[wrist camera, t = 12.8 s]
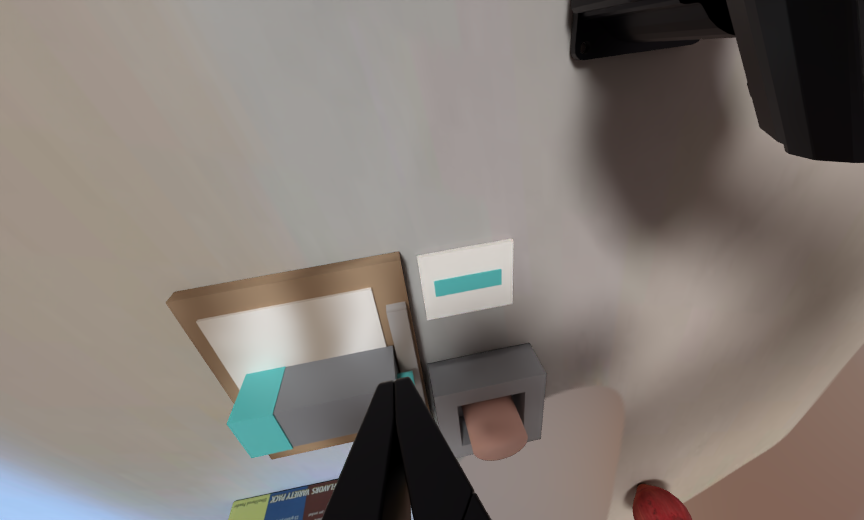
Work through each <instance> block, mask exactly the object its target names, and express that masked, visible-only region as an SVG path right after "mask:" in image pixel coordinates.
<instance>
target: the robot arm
mask: <svg viewBox="0 0 864 520" xmlns="http://www.w3.org/2000/svg"><path fill="white" fill-rule="evenodd" d="M571 9H572V10H573V12H574V14H573V26H572V38H571V55H572V57H573V58H574V59H576V60H588V59H595V58H602V57H609V56H616V55H623V54H629V53H636V52H643V51H650V50H657V49H664V48H671V47H678V46H685V45H692V44H694V43H696V42H698V41H699V40H700V39H715V38H735V37H736V40H737V44H738V48H739V51H740V55H741V59H742V63H743V66H744V70H745V74H746V78H747V82H748V83H747V86H748V90H749V93H750V96H751V97H752V100H753V104H754V108H755V112H756V116H757V119H758V123H759V127H760V128H761V129H762V130H764V131H765V132H766V133H767V134H769V135H770V136H771V137H772V138H774V139H775V140H776V141H777V142H780V143H782V144H784V148H785V151H786V152H787V153H788V154H792V155H796V156H800V157H804V158H808V159H812V160H820V161H835V162H849V163H864V0H571ZM583 42H584V43H585V44H586V48H585V51H584V52H583V53H581V52H580V46H581V44H582V43H583ZM411 508H412V514H413V519H414V520H491V518H490V516H489V515H488V513H487V512H486V510H485V508H484V506H483V505H482V503H481V501H480V500H479V497H478V496H477V494H476V493H474V489H473V487H472V486H471V484H470V482H469V480H468V479H467V477H466V475H465V473H464V472H463V470H462V468H461V466H460V464H459V463H458V461H457V459H456V457H455V456H454V454H453V452H452V450H451V448H450V447H449V445H448V443H447V441H446V440H445V438H444V436H443V434H442V433H441V431H440V429H439V427H438V426H437V424H436V422H435V420H434V418H433V417H432V415H431V413H430V411H429V410H428V408H427V406H426V404H425V403H424V401H423V399H422V397H421V396H420V394H419V392H418V390H417V389H416V387H415V385H414V383H413V381H412V380H411V378H410V377H403V378H399V379H396V380H395V382H394V381H393V380H390V381H385V382H381V383H379V384H378V386H377V388H376V390H375V392H374V395H373V397H372V400H371V402H370V404H369V407H368V409H367V412H366V414H365V416H364V419H363V421H362V424H361V426H360V428H359V431H358V433H357V436H356V438H355V440H354V443H353V445H352V447H351V450H350V452H349V455H348V457H347V459H346V462H345V464H344V467H343V469H342V471H341V474H340V476H339V479H338V481H337V483H336V486H335V488H334V491H333V493H332V495H331V498H330V500H329V502H328V505H327V507H326V510H325V512H324V514H323V517H322V519H321V520H411Z"/></svg>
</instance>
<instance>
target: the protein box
mask: <svg viewBox="0 0 864 520" xmlns="http://www.w3.org/2000/svg"><path fill="white" fill-rule="evenodd" d="M337 481H338V479H337V480H332V481H328V482H323V483H318V484H314V485H309V486H304V487H299V488H295V489H290V490H285V491H281V492H276V493H271V494H267V495H262V496H257V497H252V498H248V499H243V500H238V501H235V502H234V503H233V505H232V509H231V512H230V515H229V519H228V520H321V519H322V517H323V514H324V512H325V510H326V507H327V505H328V502H329V500H330V498H331V495H332V493H333V491H334V488H335V486H336V483H337Z"/></svg>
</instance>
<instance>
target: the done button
mask: <svg viewBox="0 0 864 520" xmlns="http://www.w3.org/2000/svg"><path fill="white" fill-rule="evenodd" d="M461 408H462V411H463V415H464V419H465V423H466V427H467V431H468V434H469V438H470V442H471V446H472V450H473V453H474V454H475V456H476V457H477V458H479V459H482V460H487V461H488V460H489V461H492V460H493V461H494V460H500V459H504V458H507V457H510V456H512V455H514V454H516V453H517V452H518V451H520V450H521V449H522V448H523V447H524V446H525V444H526V443H527V440H528V435H527V433H526V430H525V428H524V425H523V423H522V421H521V418H520V416H519V413H518V411H517V409H516V406H515V404H514V401H513V399H512V397H511V395H509V396H504V397H499V398H495V399H490V400H485V401H481V402H476V403H472V404H467V405H462V406H461Z"/></svg>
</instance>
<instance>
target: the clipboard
mask: <svg viewBox="0 0 864 520" xmlns="http://www.w3.org/2000/svg"><path fill="white" fill-rule="evenodd" d="M166 304H167V306H168V307H169V308H170V310H171V311H172V313H173V314H174V316H175V317H176V319H177V320H178V322H179V323H180V325H181V326H182V328H183V329H184V331H185V332H186V334H187V335H188V337H189V338H190V339H191V341H192V342H193V344H194V345H195V347H196V348H197V350H198V351H199V353H200V354H201V356H202V357H203V359H204V360H205V362H206V363H207V365H208V366H209V368H210V369H211V371H212V372H213V373H214V375H215V376H216V378H217V379H218V381H219V382H220V384H221V385H222V387H223V388H224V390H225V391H226V393H227V394H228V396H229V397H230V399H231V400H232V402H233V403H234V404H235V401H236V399H237V396H238V394H239V391H240V388H241V386H242V383H243V381H244V378H245V376H246V374H250V373H255V372H260V371H265V370H270V369H275V368H280V367H288V366H293V365H298V364H303V363H308V362H313V361H318V360H323V359H328V358H333V357H338V356H343V355H348V354H353V353H358V352H363V351H368V350H373V349H378V348H382V347H387V346H392V345H393V349H394V353H395V357H396V361H397V365H398V369H399V373H402V372H407V371H413V375H414V381H415V387H416V389H417V390H418V392H419V394H420V396H421V397H422V399H423V401H424V403H425V404H426V406H427V408H428V410H429V411H430V408H429V403H428V398H427V393H426V388H425V382H424V377H423V372H422V367H421V362H420V357H419V352H418V347H417V341H416V336H415V331H414V326H413V321H412V316H411V311H410V305H409V300H408V295H407V290H406V285H405V280H404V275H403V269H402V264H401V259H400V254H399V252H394V253H388V254H382V255H377V256H371V257H366V258H360V259H355V260H349V261H344V262H338V263H332V264H327V265H321V266H316V267H310V268H305V269H299V270H294V271H288V272H282V273H277V274H271V275H266V276H260V277H255V278H249V279H244V280H238V281H232V282H227V283H221V284H216V285H210V286H205V287H199V288H194V289H188V290H182V291H177V292H174V293H173V294H172V296H171V297H170V298H169V299H168V300H167V302H166ZM356 436H357V433H355V434H351V435H346V436H341V437H337V438H332V439H328V440H323V441H318V442H314V443H309V444H305V445H300V446H295V447H293V449H291V450H286V451H282V452H277V453H273V454H268V455H269V456H270V458H271V459H276V458H281V457H285V456H290V455H294V454H299V453H303V452H308V451H313V450H317V449H322V448H326V447H331V446H335V445H340V444H345V443H349V442H354V440H355V438H356Z"/></svg>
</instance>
